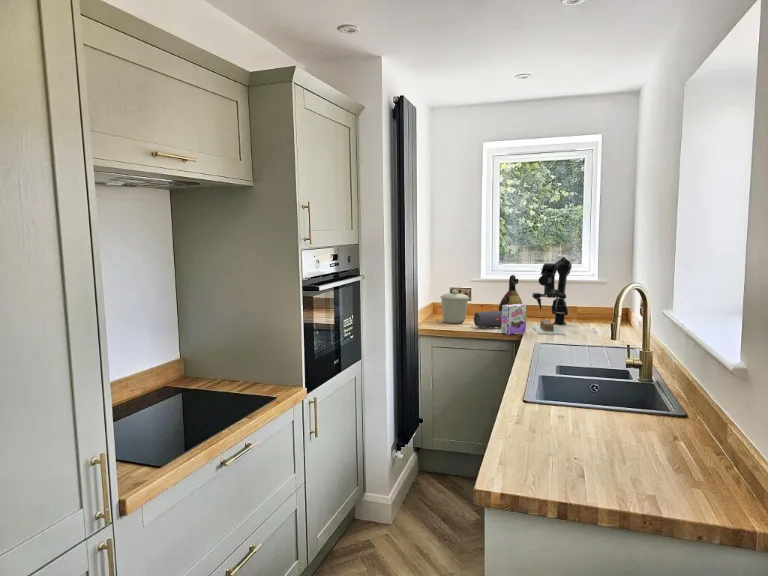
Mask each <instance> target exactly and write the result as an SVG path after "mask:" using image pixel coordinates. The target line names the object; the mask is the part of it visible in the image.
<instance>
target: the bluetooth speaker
mask: <svg viewBox="0 0 768 576" xmlns="http://www.w3.org/2000/svg"><path fill="white" fill-rule="evenodd" d="M501 318H502V311H499V310H493V311H492V310H490V311H479V312H475V313H474V316H473V324H474V326H475V327H481V328H482V327H483V328H484V327H485V329H495V328H494V327H501Z"/></svg>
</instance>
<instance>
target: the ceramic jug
mask: <svg viewBox="0 0 768 576" xmlns="http://www.w3.org/2000/svg"><path fill="white" fill-rule="evenodd" d="M518 284H519V278H517V276H515V274H511V275H510V276H509V279H508V291H507V292H506V293H505V294H504V295H503V297H502V299H501V300H500V303H499V306H498V311H502V305H513V304H523V301H522V299H521V297H520V295H519V293H518V291H517V289H516V285H518ZM523 305H524V304H523Z"/></svg>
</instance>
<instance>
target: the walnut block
mask: <svg viewBox="0 0 768 576" xmlns="http://www.w3.org/2000/svg"><path fill="white" fill-rule="evenodd" d="M553 323H554V322H552V321H551V320H549V319H540V325H539V326H540V328H541V329H543V330H544V331H545V332H553V331H554V326H555V324H553Z"/></svg>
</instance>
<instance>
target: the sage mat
mask: <svg viewBox="0 0 768 576" xmlns="http://www.w3.org/2000/svg"><path fill="white" fill-rule="evenodd" d="M531 327H533V328H534V329H535V330H536V331H537V332H536V331H535V330H534V329H533V328H532V329H533V330H534V331H535V332H536V333H537V334H538V335H548V334H556V335H557V336H564V335H565V333H564V332H563V331H562V330H561V329H559V328H558V327H557V326H555V325H554V331H553V332H545V331H544V330H543V329H541V328H540V325H531ZM556 335H555V336H556Z"/></svg>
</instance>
